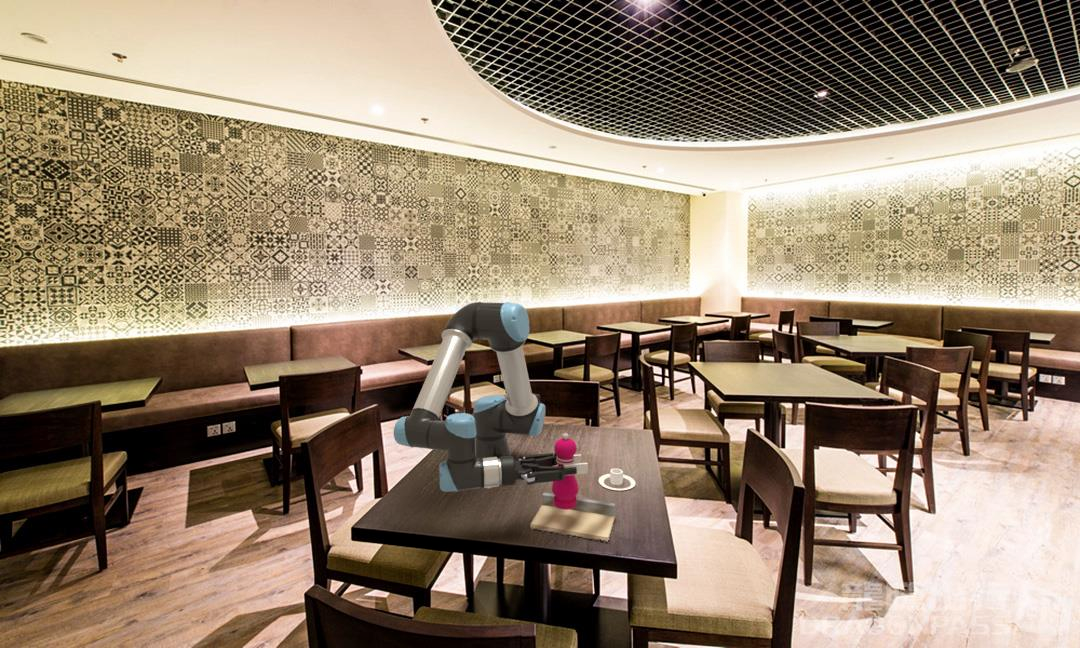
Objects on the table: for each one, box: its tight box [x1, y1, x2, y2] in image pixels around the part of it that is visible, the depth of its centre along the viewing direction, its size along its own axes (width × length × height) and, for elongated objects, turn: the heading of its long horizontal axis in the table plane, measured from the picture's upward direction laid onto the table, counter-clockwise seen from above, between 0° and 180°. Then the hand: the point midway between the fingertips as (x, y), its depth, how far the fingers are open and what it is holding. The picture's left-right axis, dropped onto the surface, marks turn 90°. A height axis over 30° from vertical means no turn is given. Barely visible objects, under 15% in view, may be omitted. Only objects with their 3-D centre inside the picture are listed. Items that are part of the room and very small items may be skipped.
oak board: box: [530, 492, 616, 541], centre depth 123 cm, size 21×12×4 cm, turn 72°
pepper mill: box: [551, 432, 579, 509], centre depth 122 cm, size 7×7×20 cm
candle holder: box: [598, 468, 637, 491], centre depth 147 cm, size 12×12×4 cm
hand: (583, 463), depth 123 cm, fingers closed on pepper mill, 5 cm apart
